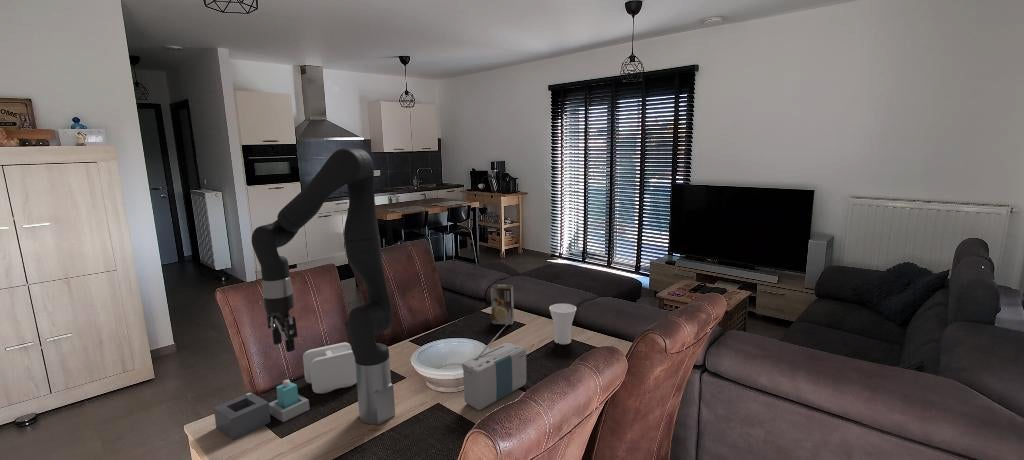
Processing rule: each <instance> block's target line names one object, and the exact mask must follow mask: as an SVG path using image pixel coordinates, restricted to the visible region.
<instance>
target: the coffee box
mask: <svg viewBox="0 0 1024 460" xmlns="http://www.w3.org/2000/svg"><path fill="white" fill-rule="evenodd" d="M490 304H491V305H490V306H491V309H490V310H491V324H492V323H493V324H492V325H506V324H508V325H513V323H514V322H515V313H514V312H515V309H514V308H515V307H514V306H515V304H514V284H504V283H503V284H501V283H500V284H499V283H493V284H492V285H491V288H490Z"/></svg>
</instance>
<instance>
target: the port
mask: <svg viewBox="0 0 1024 460" xmlns="http://www.w3.org/2000/svg"><path fill="white" fill-rule="evenodd" d="M269 403H270V402H269V401H267V400H265V399H263V398H262V397H260V396H258V395H256V394H255V393H253V392H248V393H245V394H243V395H241V396H238V397H235V398H234V399H231V400H229V401H226V402H223V403H221V404H218V405H216V406H214V407H213V413H214V421H215V426H216V429H217V430H219V431H220V432H222V433H223V434H225V435H226V436H227V437H229V438H230V439H232V440H236V439H238V438H240V437H242V436H245V435H246V434H247V435H248V434H250V433H251V432H253V431H256V430H257V429H260V428H262V427H264V426H265V425H267V424H270V423H271V422H272V421H271V414H270V410H269Z"/></svg>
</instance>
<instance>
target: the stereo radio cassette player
mask: <svg viewBox="0 0 1024 460" xmlns="http://www.w3.org/2000/svg"><path fill="white" fill-rule="evenodd" d="M508 325H509V324H505V326H504V327H503V328H502V329H501V330H500V331H499V332H498V333H497V334H496V335H495V336H494V337H493V338H492V340H491V341H490V342H488V344H487V346H485V347H484V348H483V350H482V351H481V352H480V353H479V354H478V355H476V356H474V357H472V358H469V359H467V360H465V361H462V364H461V367H462V371H463V372H462V373H463V392H464V393H463V394H464V395H463V396H464V397H463V399H464V402H465V403H466V404H467V405H469V406H471V407H472V408H474V409H475V410H477V411H481V410H483V409H485V408H486V407H488V406H490V405H492V404H493V403H495V402H497V401H499V400H500V399H502V398H503V397H506V396H507V395H510V394H511V393H513V392H514V391H517V390H518V389H520V388H522V387H523V386H525V384H526V383H527V353H526V349H525V347H522V346H520V345H517V344H516V343H515V344H514V343H510V342H504V343H502V344H500V345H498V346H495V347H494V348H491V349H489V350H487V349H488V348H489V347H490V345H491V344H492V343H494V341H495V340H496V338H497V337H499V335H500V334H501V333H502V331H503V330H504V329H505V328H506V326H508Z"/></svg>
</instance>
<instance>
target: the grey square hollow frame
mask: <svg viewBox="0 0 1024 460" xmlns="http://www.w3.org/2000/svg"><path fill="white" fill-rule="evenodd" d="M298 400H299V402H298V403H296V404H294V405H292V406H290V407H288V408H285V409H283V408H281V407H280V406H278V398H277V399H274V400H273V401H271V402H269V410H270V416H272V417H274V418H276V419H277V420H279V421H281V422H282V423H285V422H287V421H289V420H291V419H294V418H296V417H297V416H299V415H301V414H303V413H306V412H307V411H309V410H310V401H309V399H308V398H306V397H304V396H302V395H300V394H298Z"/></svg>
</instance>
